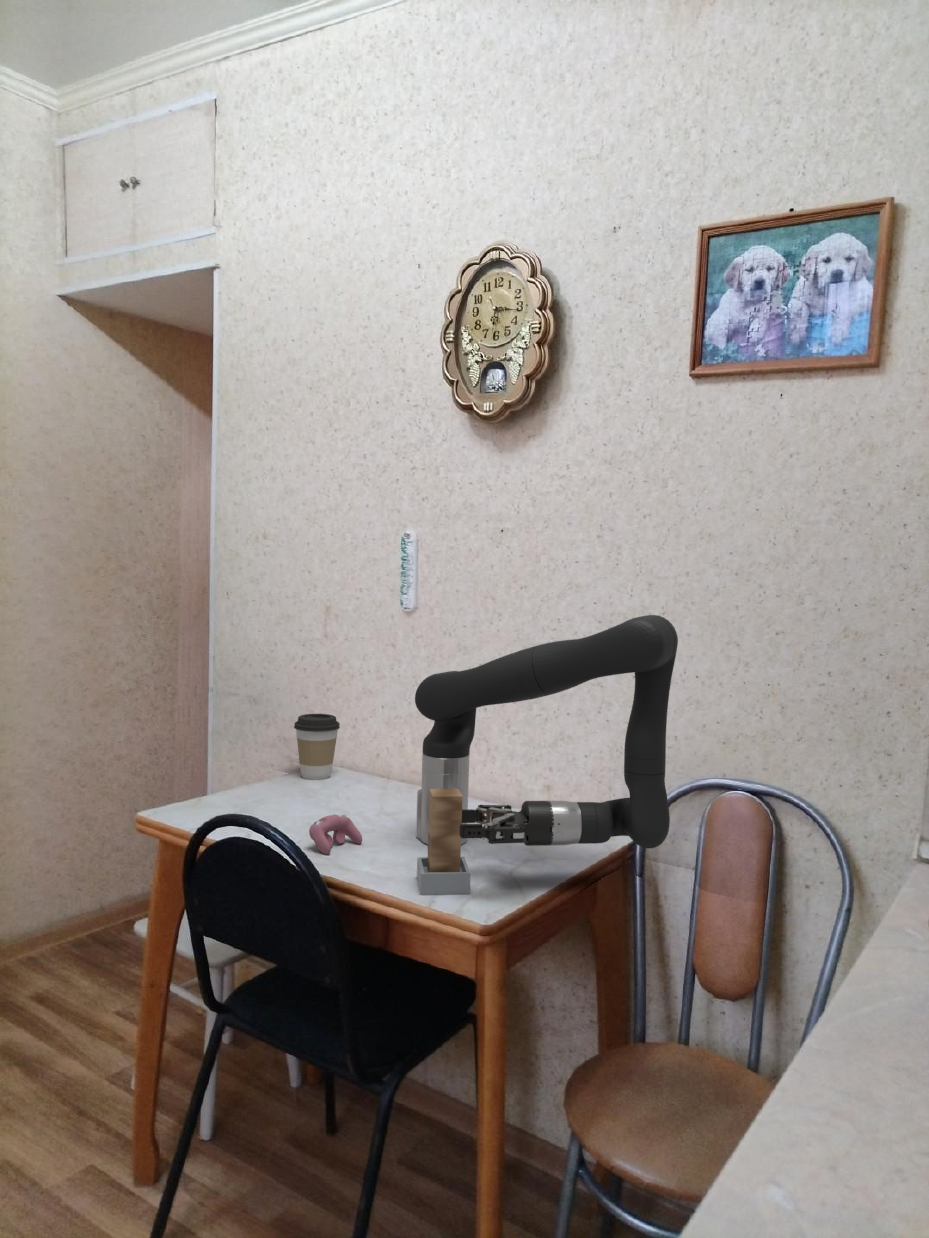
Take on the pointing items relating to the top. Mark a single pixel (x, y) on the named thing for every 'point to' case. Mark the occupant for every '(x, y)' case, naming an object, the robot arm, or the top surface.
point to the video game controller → (340, 828)
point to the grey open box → (443, 879)
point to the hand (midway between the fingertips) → (457, 823)
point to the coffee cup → (316, 744)
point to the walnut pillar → (444, 830)
